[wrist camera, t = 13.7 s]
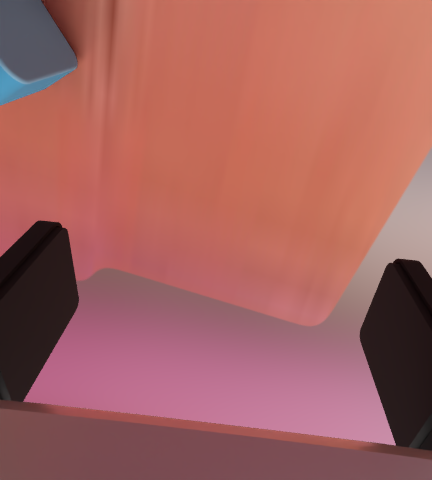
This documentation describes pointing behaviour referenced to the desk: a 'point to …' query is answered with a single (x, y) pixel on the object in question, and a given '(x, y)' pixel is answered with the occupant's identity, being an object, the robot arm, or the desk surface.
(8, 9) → the data package
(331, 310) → the desk surface
